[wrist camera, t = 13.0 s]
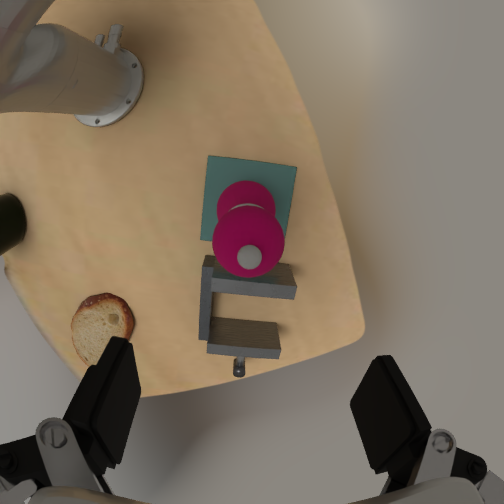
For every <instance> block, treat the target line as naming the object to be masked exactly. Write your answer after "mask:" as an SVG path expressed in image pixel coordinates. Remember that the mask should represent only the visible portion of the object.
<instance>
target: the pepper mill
mask: <svg viewBox="0 0 504 504" xmlns="http://www.w3.org/2000/svg"><path fill="white" fill-rule="evenodd" d="M275 213H276V208H275V202H274V199H273V197H272V195H271V193H270V192H269V191H268V190H267V188H265V187H264V186H263V185H261V184H259V183H257V182H254V181H246V180H244V181H239V182H235V183H233V184H231V185H230V186H228V187H227V188H226V189H225V190H224V191H223V192H222V194H221V195H220V197H219V199H218V203H217V218H218V223H217V225H216V227H215V229H214V233H213V238H212V245H213V251H214V254H215V256H216V258H217V260H218V262H219V263H220V265H221V266H222V267H223V268H225V269H226V270H227V271H228V272H230V273H232V274H234V275H236V276H240V277H246V278H250V277H257V276H260V275H263V274H265V273H267V272H269V271H270V270H271V269H273V268H274V266H275V265H276V264H277V263H278V262H279V260H280V258H281V256H282V253H283V250H284V233H283V229H282V227H281V225H280V223H279V221H278V220H277V219H276V218H275Z"/></svg>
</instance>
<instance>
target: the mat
mask: <svg viewBox="0 0 504 504" xmlns="http://www.w3.org/2000/svg"><path fill="white" fill-rule="evenodd" d="M296 170H297V167H293V166H286V165H280V164H273V163H267V162H259V161H252V160H244V159H235V158H226V157H217V156H208V163H207V172H206V181H205V191H204V202H203V213H202V225H201V237H200V240H205V241H212V238H213V233H214V229H215V227H216V225H217V223H218V218H217V203H218V199H219V197H220V195H221V194H222V192H223V191H224V190H225V189H226V188H227V187H228V186H230V185H231V184H233V183H235V182H239V181H244V180H246V181H254V182H257V183H259V184H261V185H263V186H264V187H265V188H267V190H268V191H269V192H270V193H271V195H272V197H273V199H274V202H275V208H276V213H275V218H276V219H277V220H278V221H279V223H280V225H281V227H282V229H283V233H284V240H285V234H286V228H287V223H288V217H289V211H290V206H291V200H292V194H293V188H294V182H295V176H296Z"/></svg>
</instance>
